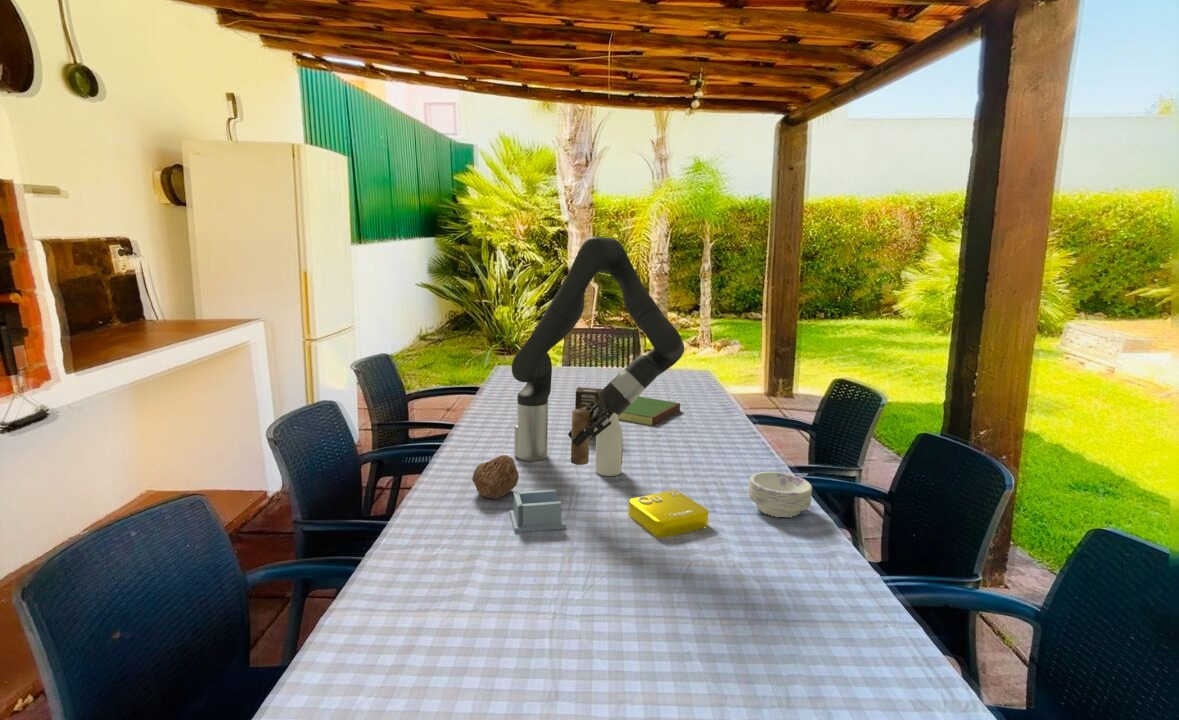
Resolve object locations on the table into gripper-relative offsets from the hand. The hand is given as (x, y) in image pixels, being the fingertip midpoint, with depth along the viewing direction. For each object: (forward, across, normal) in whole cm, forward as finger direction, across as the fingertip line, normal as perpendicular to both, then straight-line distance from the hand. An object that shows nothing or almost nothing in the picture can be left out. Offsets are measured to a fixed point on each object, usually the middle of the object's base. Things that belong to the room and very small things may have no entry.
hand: (572, 440), depth 159 cm
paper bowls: (-24, +11, +49) cm, 55 cm away
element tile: (-3, +11, +28) cm, 30 cm away
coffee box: (0, -57, +26) cm, 63 cm away
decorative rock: (+25, -12, 0) cm, 28 cm away
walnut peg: (+3, 0, +5) cm, 6 cm away
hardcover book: (-19, -80, +46) cm, 94 cm away
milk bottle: (+2, -22, +24) cm, 33 cm away
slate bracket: (+19, +6, +6) cm, 21 cm away
